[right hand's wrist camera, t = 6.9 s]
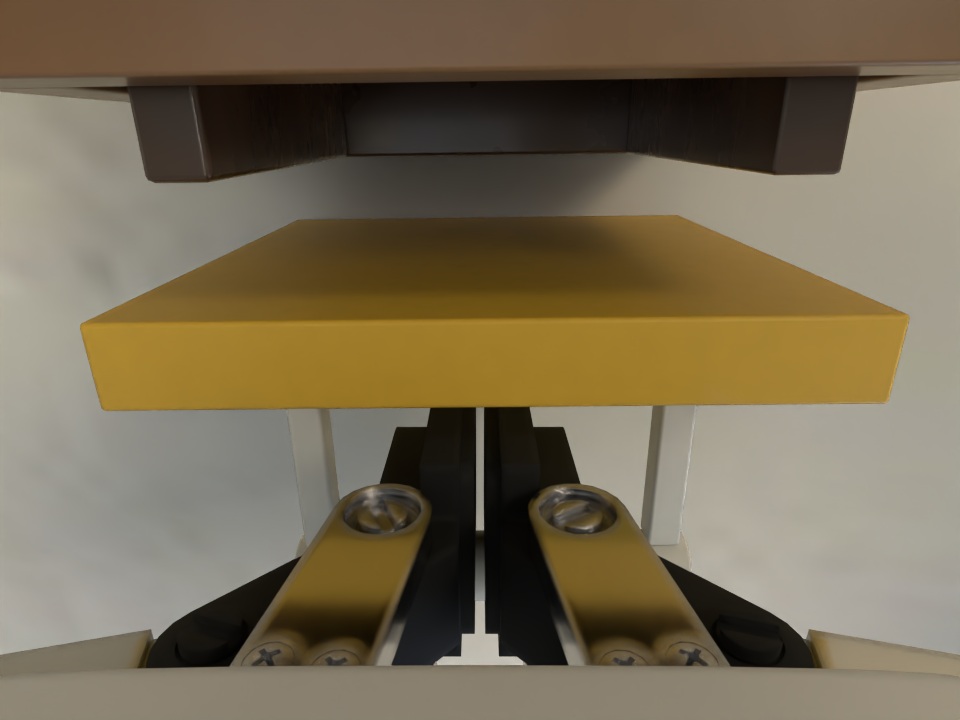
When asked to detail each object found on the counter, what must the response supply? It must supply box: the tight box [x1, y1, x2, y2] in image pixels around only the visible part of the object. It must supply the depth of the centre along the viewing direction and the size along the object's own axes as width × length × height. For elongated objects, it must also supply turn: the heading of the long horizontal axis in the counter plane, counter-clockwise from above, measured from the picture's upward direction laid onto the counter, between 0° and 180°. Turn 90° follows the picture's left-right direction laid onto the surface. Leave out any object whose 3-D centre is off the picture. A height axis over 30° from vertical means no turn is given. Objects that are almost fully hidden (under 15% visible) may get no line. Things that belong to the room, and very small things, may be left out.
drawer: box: [80, 76, 909, 601], centre depth 10 cm, size 20×10×9 cm, turn 1°
